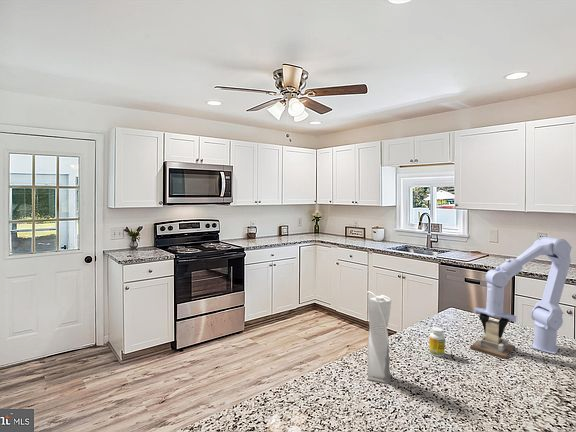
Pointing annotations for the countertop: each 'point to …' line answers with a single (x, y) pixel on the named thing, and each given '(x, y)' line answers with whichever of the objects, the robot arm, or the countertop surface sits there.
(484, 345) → the socket board
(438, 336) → the supplement bottle
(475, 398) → the countertop surface
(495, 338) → the birch peg
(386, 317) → the skyscraper
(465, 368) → the countertop surface
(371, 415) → the countertop surface
